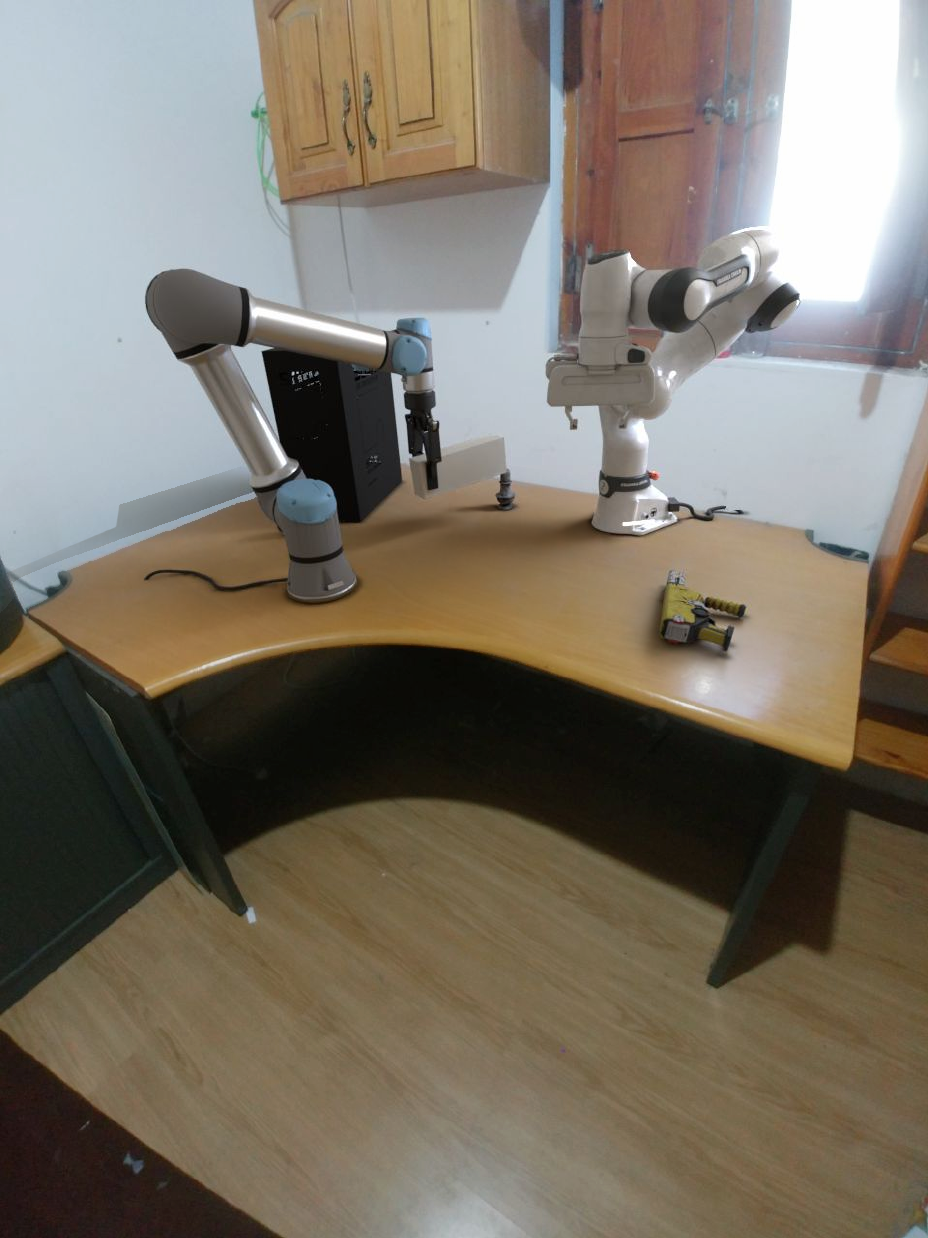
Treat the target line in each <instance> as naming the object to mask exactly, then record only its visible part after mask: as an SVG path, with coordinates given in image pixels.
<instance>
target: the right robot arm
mask: <svg viewBox="0 0 928 1238" xmlns="http://www.w3.org/2000/svg"><path fill="white" fill-rule="evenodd" d="M785 255H786V242H785V238H784V237H783V235H782V234H781V233H780V231H779V230H777V229H775V227H769V226H757V227H749V228H744V229H741V230H737V231H734V232H731V233H729V234H726V235H723V236H721V237H719V238H718V239H716V240H714V241H712V242H711V243H710V244H708V245H707V246H706V247H704V249H703V250H702V252H701V253H700V255H699V258H698V260H697V264H696V267H694V266H693V267H692V266H687V267H678V268H672V269H671V268H670V269H647V268H646V267H643V266H641V265H640V264H638V263H637V262H636V261H635V260H634V259H633V258H632V256H631V252H630V251H629V250H626V249H613V250H607V251H603V252H600V253H597V254H594V255H592V256H591V257H590V258H588V259H587V261H586V263H585V265H584V267H583V272H582V279H581V286H580V300H579V302H580V303H579V312H580V317H581V324H580V329H579V332H578V347H577V348H578V349H577V350H578V352H577V353H567V354H560V353H559V354H554V355H553V356H551V357H550V358H549V359H548V360H547V361H546V362H545V377H546V378H547V380H548V382H547V383H548V385H547V393H546V403H547V404H548V406H550V408H553V407H554V408H557V407H558V408H559V407H564V413H565V415H566V417H567V420H568V421H569V431H575V430H578V424H579V423H578V422H579V421H578V418H574V417H573V415H572V412H573V407H598V413H599V418H600V420H599V421H600V427H601V433H602V453H601V468H600V470H599V474H598V492H599V493H598V498H597V502H596V507H595V511H594V514H593V517H592V520H591V525H592V526H593V527H594V528H595V529H597V530H599V531H601V532H605V533H611V534H623V535H625V534H626V535H632V536H633V535H634V536H645V535H646V534H650V533H652V532H654V531H657V530H660V529H662V528H665V527H668V526H670V525H672V524H675V523H677V522H678V516H677V515H676V514H675V513H676V512H680V508H681V507H682V508H686V509H688V510H689V512H690V514H691V516H692V517H694V518H696V519H698V520H701V521H702V520H703V521H708V520H712V519H714V518H715V514H714V513H713V512H716V511H721V510H726V509H725V508H726V506H724V505H718V506H713V507H709V508H708V509H707V510H706V514H707V515H701V514H698V513H696V512H695V509H694V507H693V506H692V505H691V504H689V503H686V502H680V501H678V499H676V497H674V496H672V497H671V496H669V497H667V496H666V495H665V494H664V493H663V492H661V491H660V490H659V489H658V488H656V487H655V486H654V485H652V483H651V480H653V481H658V479H659V478H660V473H659V472H657V471H654V470H651V471H649V470H648V469H647V466H648V458H649V457H648V456H649V446H650V439H649V435H648V433H647V431H646V428H645V425H644V421H651V420H656V419H658V418H660V417H661V416H663V415H664V414H665V413H666V412H667V410H668V409H669V408H670V405H671V403H672V400H673V396H674V394H675V392H676V391H677V390H678V389H679V388H680V387H681V386H682V385H683V384H684V383H685V382H686V381H687V380H688V379H689V378H691V377H693V376H694V375H695V374H696V373H698V372H700V370H701V369H703V368H704V367H706V366H707V365H708V364H709V363H711V362H712V361H714V360H715V359H717V358H718V357H719V356H720V355H722V354H723V353H724V352H725V351H727V349H728V348H730V347H731V346H732V345H733V344H734V343H735V342H736V341H737V340H738V339H739V338H740V337H741V336H742V335H743V333H744V332H745V333H748V334H754V333H757V332H758V333H759V332H760V333H763V332H769V331H772V330H774V329H776V328H778V327H780V326H782V324H784V323H785V322H787V321H788V320H789V319H790V318H791V317H792V316H793V315H794V313H795V312H796V310H798V308H799V307H800V305H801V302H802V298H803V292H802V290H801V287H800V286H799V284H798V283H797V281H796V280H793V279H792V277H791V276H790V274H789V273H788V272H787V270H786V269H785V268H784V267H783V266H782V264H783V261H784V259H785ZM629 329H633V330H634V329H635V330H647V331H648V330H649V331H663V332H668V334H666V335H665V336H663V337H662V338H661V339H660V340H659V341H658V342H657V344H656V348H655V350H654V351H653V352H652V351H651V349H649V348H648V347H646V346H643V345H640V344H637V343H635V342H630V341H629V340H628V339H629ZM733 511H734V512H736V513H738V514H739V515H744V514H745V513H744V511H743V510H742V509H741V510H733Z"/></svg>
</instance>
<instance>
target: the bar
mask: <svg viewBox="0 0 928 1238" xmlns="http://www.w3.org/2000/svg"><path fill="white" fill-rule="evenodd" d="M506 457H507V456H506V447H505V437H504V436H501V435H499V434H495V433H489V434H486V435H482V436H479V437H476V438H473V439H469V440H466V441H462V442H459V443H455V444H452V445H449V446H445V447H442V448H441V459H442V461H441V462H438V463H437V475H438V488H437V489H433V490H428V487H427V475H426V465H425V463H427V459H426V454H425V453H424V454H422V455H419V456H415V457H412V456H411V457H409V458H408V461H409V468H410V473H411V479H412V485H413V492H414V495H416V496H417V497H419V498H421V499H423V500H428V499H432V498H434V497H437V496H440V495H444V494H447V493H450V492H452V491H455V490H458V489H462V488H465V487H467V486H470V485H473V484H476V483H480V482H483V481H486V480H488V479H492V478H495V477H497V476H500V474H503V473H506V472H507V469H508V468H507V459H506ZM506 468H507V469H506Z"/></svg>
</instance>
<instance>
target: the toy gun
mask: <svg viewBox="0 0 928 1238" xmlns="http://www.w3.org/2000/svg"><path fill="white" fill-rule="evenodd" d="M667 575H668V576H667V579H666V585H665V590H664V594H663V600H662V610H661V616H660V626H659V636H660V637H661V638H662V639H666V640H668V641H667V642H668V643H674V644H676V645H677V644H679V643H685V644H688V643H692V642H694V641H696V640H703V641H706V642H709V643H712V644H716V645H718V646H721V647H722V651H723V652H728V650H729V647H730V644H731V641H732V638H733V634H734V632H735V627H734V626H733V625H731V624H729V625H727V628H726V629H724V628H722V627H719V626H717V624H716V621H715V620H714V619H713V618H711V614H710V611H709V610H708V609H713V610H714V611H719V612H721V613H724V612H725V613H726V614H728V615H731V614H732V615H733V616H735V617H737V618H744V615H745V613H746V610H747V606H746V605H745V604H743V603H735V602H734V601H728V600H726V599H721V598H719V597H716V598H715V597H714V596H711V595H708V596H707V597H705V598H704V597H703V595H702V594H701V592H699V591H695V590H692V589H689V588H687V586H685V585H686V576H687V575H686V572H684V571H681V570H680V571H679V573H677V570H675V569H671V570H669V571H668V574H667ZM676 575H677V576H678V577H676Z"/></svg>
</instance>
